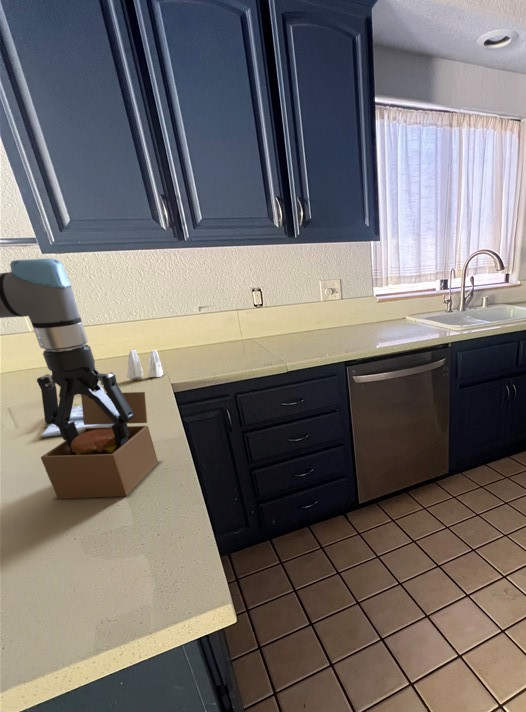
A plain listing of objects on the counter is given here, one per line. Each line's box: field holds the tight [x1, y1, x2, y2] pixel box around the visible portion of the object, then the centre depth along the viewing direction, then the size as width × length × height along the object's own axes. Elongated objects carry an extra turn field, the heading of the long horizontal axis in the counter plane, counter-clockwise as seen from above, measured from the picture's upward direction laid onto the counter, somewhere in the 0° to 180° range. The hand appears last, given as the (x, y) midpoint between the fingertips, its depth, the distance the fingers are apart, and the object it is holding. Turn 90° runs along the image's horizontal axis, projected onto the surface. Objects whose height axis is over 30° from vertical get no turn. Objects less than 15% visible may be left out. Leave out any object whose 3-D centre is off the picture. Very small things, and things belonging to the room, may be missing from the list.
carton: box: [40, 425, 159, 499], centre depth 91 cm, size 14×14×10 cm
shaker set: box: [126, 349, 164, 381], centre depth 157 cm, size 12×4×11 cm, turn 123°
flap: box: [80, 391, 148, 425], centre depth 95 cm, size 14×7×1 cm
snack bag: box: [40, 405, 114, 439], centre depth 123 cm, size 19×20×2 cm
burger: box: [71, 429, 119, 455], centre depth 89 cm, size 10×9×5 cm
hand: (102, 452), depth 90 cm, fingers closed on burger, 9 cm apart
